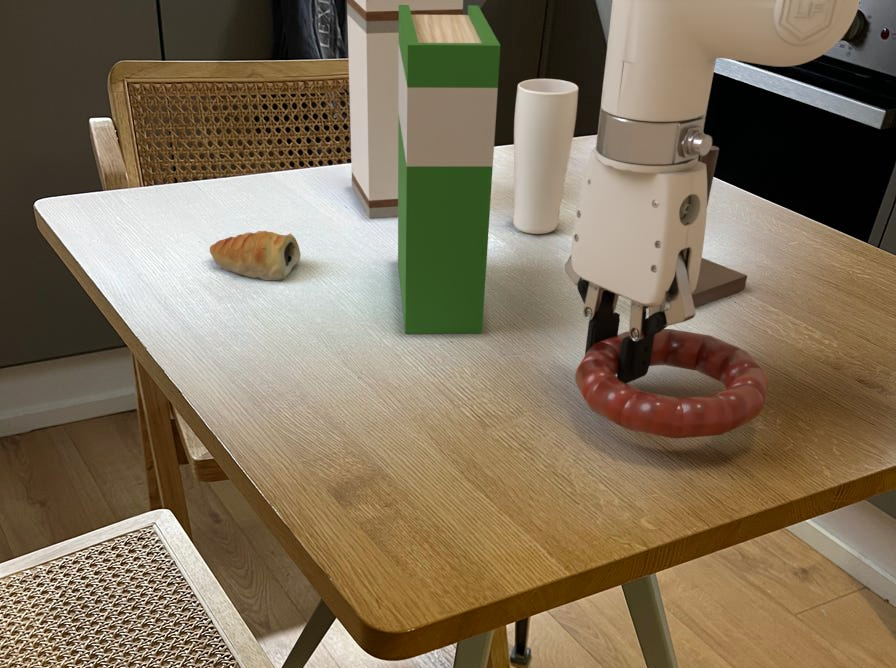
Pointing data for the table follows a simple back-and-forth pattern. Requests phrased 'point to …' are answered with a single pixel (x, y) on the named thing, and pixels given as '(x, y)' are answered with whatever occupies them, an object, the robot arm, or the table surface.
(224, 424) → the table surface
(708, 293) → the peg stand
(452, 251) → the hardback book
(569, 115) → the drinking glass
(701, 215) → the robot arm
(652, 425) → the ring
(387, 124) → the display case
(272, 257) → the pastry
